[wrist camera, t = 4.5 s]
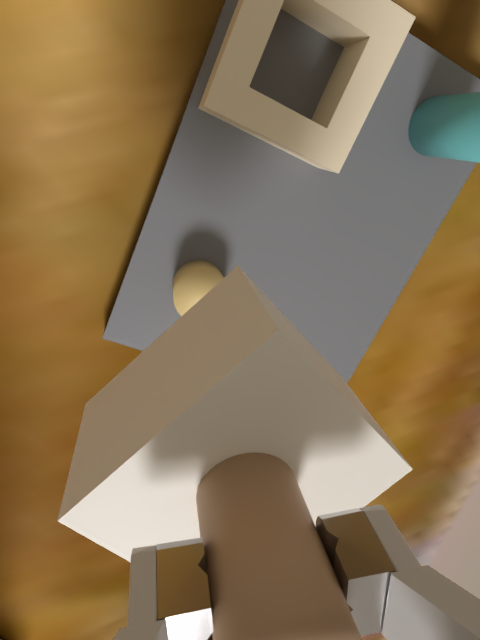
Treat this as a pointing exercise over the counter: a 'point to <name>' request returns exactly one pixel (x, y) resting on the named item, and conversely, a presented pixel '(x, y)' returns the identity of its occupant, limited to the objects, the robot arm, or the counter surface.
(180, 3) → the counter surface
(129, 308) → the board
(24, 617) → the counter surface
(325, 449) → the cover
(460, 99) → the pin
